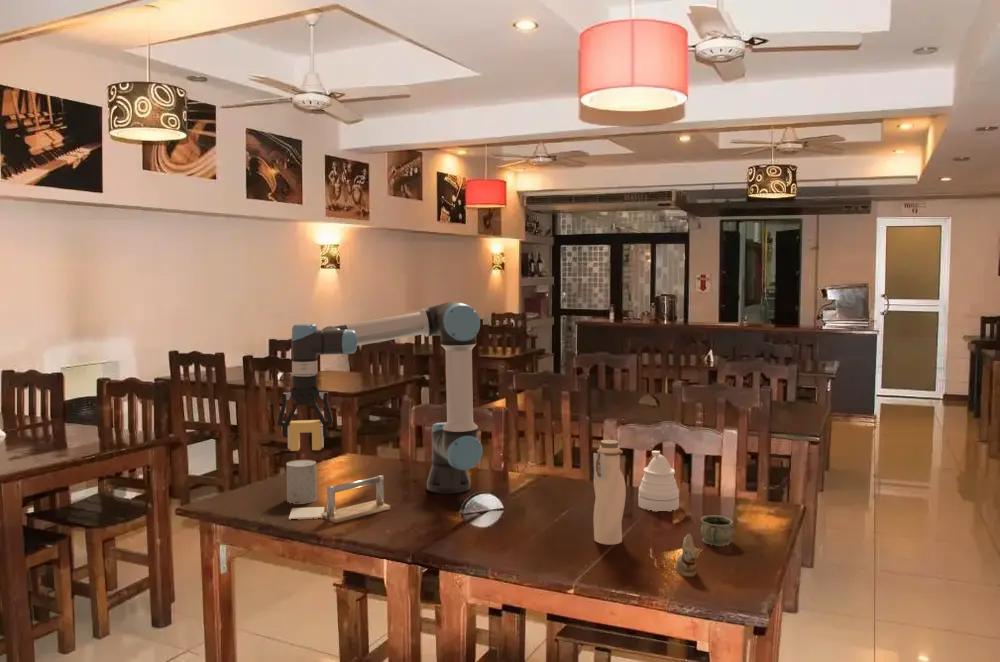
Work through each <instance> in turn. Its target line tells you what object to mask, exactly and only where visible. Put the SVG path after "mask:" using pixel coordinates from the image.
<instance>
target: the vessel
mask: <svg viewBox="0 0 1000 662" xmlns="http://www.w3.org/2000/svg"><path fill="white" fill-rule="evenodd" d="M700 521H701V527H700V534H701V536H703V538H702V542H703V541H704V542H705V543H704V542H703V543H704V544H706V543H707V544H706V545H708V544H710V545H709V546H712V545H715V546H714V547H726V546H725V545H727V546H729V544H730V542H731V541H730V539H732V538H733V535H734V531H733V523H734V522H733V521H734V520H732V518H729V517H727V516H723V515H704V516H702V517H700ZM730 545H731V544H730Z"/></svg>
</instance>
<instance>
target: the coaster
mask: <svg viewBox="0 0 1000 662" xmlns="http://www.w3.org/2000/svg"><path fill="white" fill-rule="evenodd" d="M324 512H325V506H315V507H314V506H311V507H309V506H308V507H292V508H291V510H290V512H289V513H290V514H289V516H288V520H289V521H292V520H291V519H298V520H316V519H317V520H318V518H321V519H324V518H323V516H322V515H321V513H324ZM313 518H314V519H313Z"/></svg>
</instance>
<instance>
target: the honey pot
mask: <svg viewBox="0 0 1000 662" xmlns="http://www.w3.org/2000/svg"><path fill="white" fill-rule="evenodd" d="M651 455H652V456H653V457H652V459H651V460H650V461H649V463H648V465H647V466H646V467H644V468H643V472H644V475H643V477H642V479H641V481H640V486H639V487H638V499H637V500H638V503H637V505H638V507H639V508H641V509H643V510H646V509H647V510H646V511H650V510H652V511H651V512H658V511H668V512H673V511H672V510H674V511H676V509H677V510H679V508H680V490H679V488H678V484H677V480H676V479H675V476H674V475H675V474H676V470H675V469H674V468H672V467H671V465H670V463H669V461H668V460H667V458H666V457H665V456H664V455H662V454H661V451H660V450H652V451H651Z"/></svg>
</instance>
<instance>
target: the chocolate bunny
mask: <svg viewBox="0 0 1000 662" xmlns="http://www.w3.org/2000/svg"><path fill="white" fill-rule="evenodd" d="M681 548H682V549H681V550H682V554H680V555H679V556H678V557H677V560H676V564H675V569H676V572H677V573H678V575H681V576H683V577H686V578H694V577H696V575H697V571H696V569H697V568H698V567H697V566H698V565H697V559H698V552H697V549H696V547H695V544H694V539H693V536H692V535H691V534H690V533H687V534H686V536H684V538H683V542H682V546H681Z"/></svg>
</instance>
